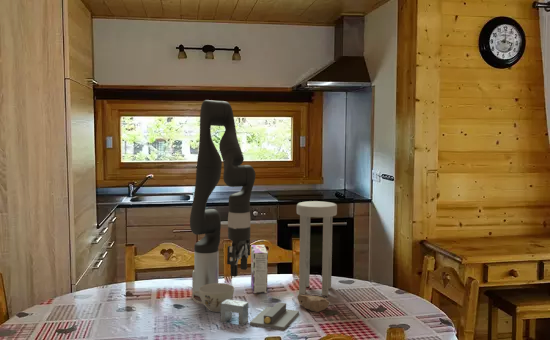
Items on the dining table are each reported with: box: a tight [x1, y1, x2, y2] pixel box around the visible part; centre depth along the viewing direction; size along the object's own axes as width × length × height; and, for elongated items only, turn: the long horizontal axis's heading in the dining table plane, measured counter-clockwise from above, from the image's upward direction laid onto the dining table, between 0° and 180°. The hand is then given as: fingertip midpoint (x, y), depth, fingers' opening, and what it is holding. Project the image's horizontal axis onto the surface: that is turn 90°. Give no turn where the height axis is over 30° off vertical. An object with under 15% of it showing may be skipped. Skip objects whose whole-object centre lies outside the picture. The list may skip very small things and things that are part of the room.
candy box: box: [250, 244, 269, 294], centre depth 217 cm, size 14×6×16 cm, turn 6°
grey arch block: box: [220, 299, 249, 326], centre depth 181 cm, size 8×4×6 cm, turn 70°
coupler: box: [249, 302, 300, 331], centre depth 183 cm, size 12×16×4 cm
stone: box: [297, 293, 330, 313], centre depth 196 cm, size 9×11×5 cm
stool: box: [296, 200, 338, 297], centre depth 214 cm, size 16×16×35 cm
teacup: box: [191, 282, 235, 313], centre depth 192 cm, size 15×12×8 cm
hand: (239, 272), depth 180 cm, fingers open, 8 cm apart
